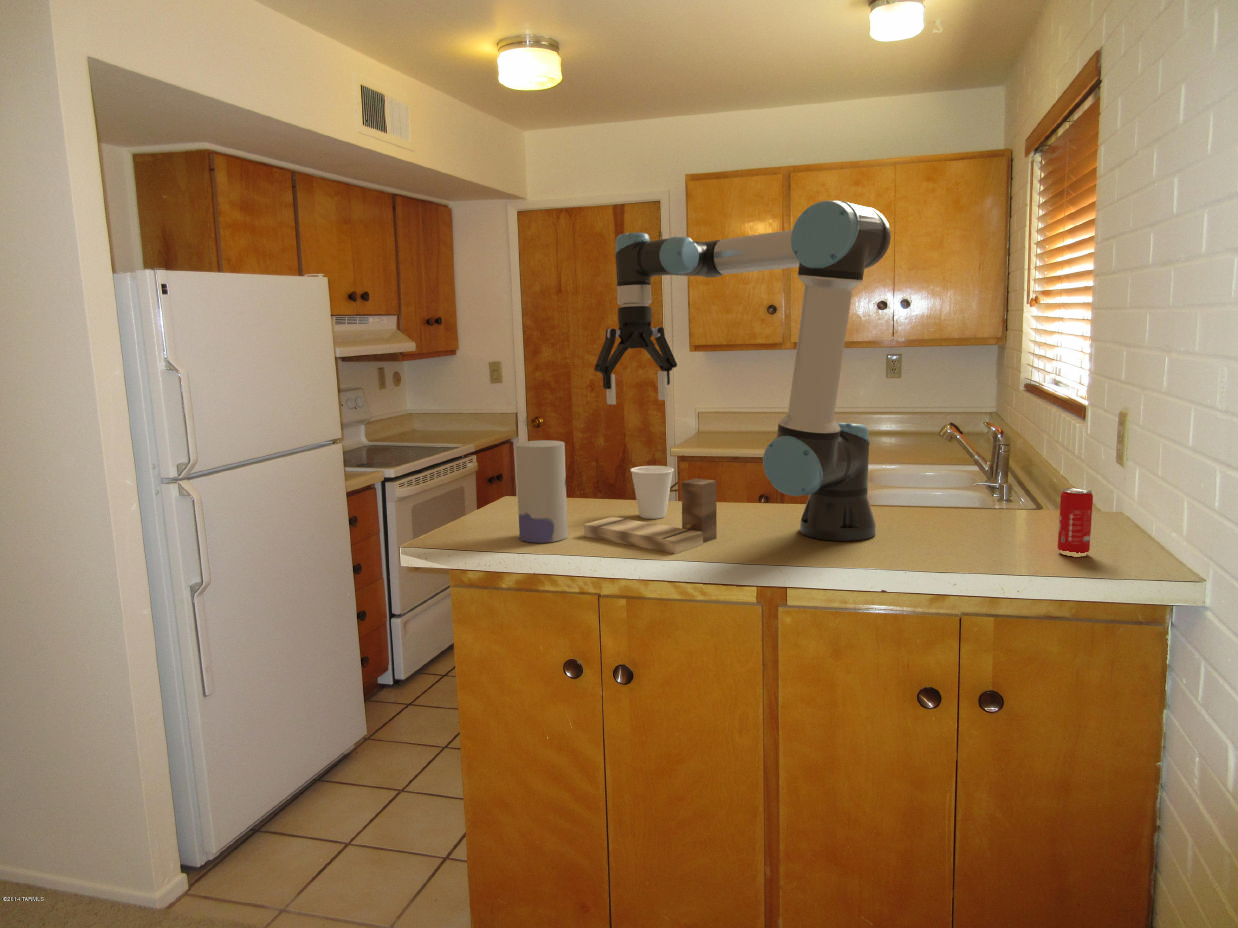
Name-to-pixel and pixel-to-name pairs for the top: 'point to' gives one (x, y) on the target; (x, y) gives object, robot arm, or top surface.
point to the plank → (644, 534)
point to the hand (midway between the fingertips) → (637, 402)
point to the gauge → (700, 507)
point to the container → (541, 491)
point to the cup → (652, 490)
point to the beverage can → (1075, 520)
